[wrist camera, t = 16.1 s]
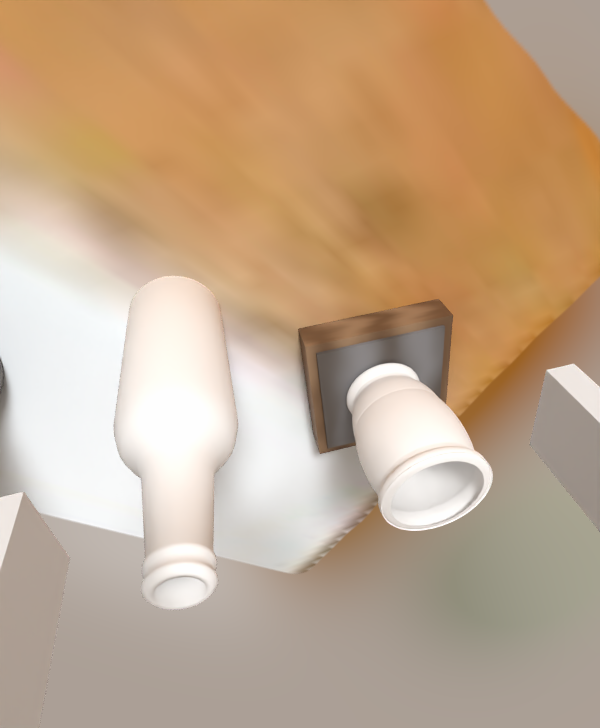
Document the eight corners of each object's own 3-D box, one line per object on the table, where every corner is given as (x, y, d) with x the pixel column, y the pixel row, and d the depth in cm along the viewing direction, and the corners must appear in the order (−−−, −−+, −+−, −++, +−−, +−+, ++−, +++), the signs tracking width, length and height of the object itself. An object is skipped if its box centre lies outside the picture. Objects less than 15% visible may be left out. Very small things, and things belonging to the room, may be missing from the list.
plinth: (313, 433, 64) (320, 456, 61) (298, 328, 55) (306, 349, 51) (432, 405, 66) (445, 426, 63) (438, 298, 56) (454, 317, 53)
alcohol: (135, 351, 52) (105, 648, 28) (123, 272, 47) (75, 553, 23) (221, 346, 54) (260, 621, 30) (219, 270, 49) (265, 529, 25)
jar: (429, 345, 54) (502, 442, 43) (423, 415, 61) (485, 518, 49) (334, 363, 53) (381, 468, 41) (338, 433, 59) (379, 542, 48)
